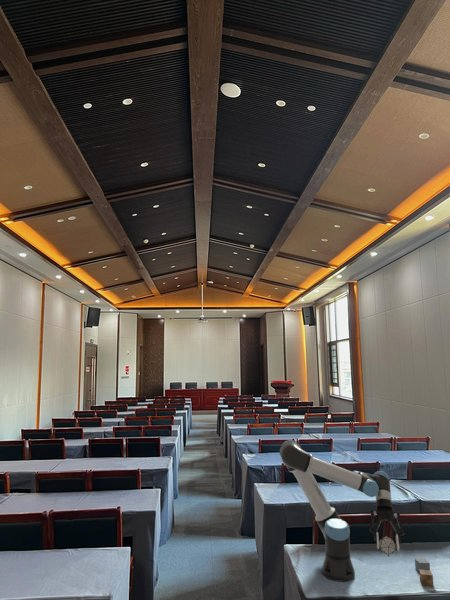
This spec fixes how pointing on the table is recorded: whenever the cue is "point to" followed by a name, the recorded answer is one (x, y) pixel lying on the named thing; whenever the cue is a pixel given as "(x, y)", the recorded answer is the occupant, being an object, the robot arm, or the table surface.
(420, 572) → the walnut block
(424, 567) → the slate block
